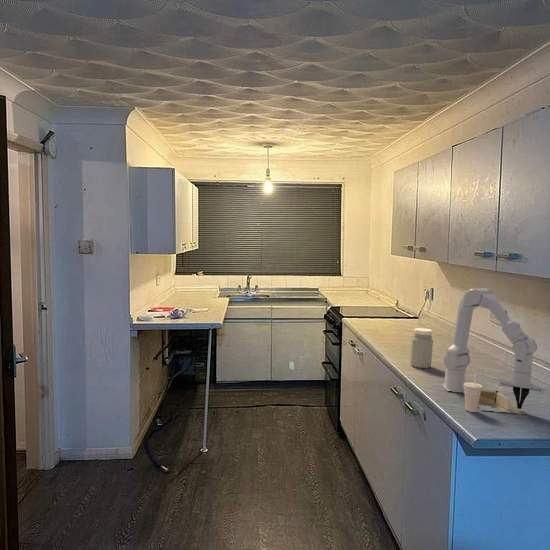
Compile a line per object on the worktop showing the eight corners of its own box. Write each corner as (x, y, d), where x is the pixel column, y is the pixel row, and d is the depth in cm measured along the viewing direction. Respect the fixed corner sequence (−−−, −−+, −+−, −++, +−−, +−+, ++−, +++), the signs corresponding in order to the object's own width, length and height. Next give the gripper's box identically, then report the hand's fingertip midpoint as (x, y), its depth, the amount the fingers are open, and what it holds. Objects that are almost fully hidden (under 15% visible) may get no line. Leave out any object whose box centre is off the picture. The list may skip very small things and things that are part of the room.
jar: (432, 370, 233) (434, 332, 231) (410, 367, 235) (413, 330, 233) (429, 364, 243) (432, 328, 241) (409, 362, 244) (411, 326, 243)
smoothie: (480, 415, 176) (483, 376, 174) (461, 412, 178) (464, 374, 177) (480, 409, 181) (483, 372, 180) (461, 406, 184) (464, 369, 183)
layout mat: (468, 396, 196) (468, 395, 196) (512, 400, 194) (512, 399, 194) (480, 411, 180) (480, 410, 180) (528, 415, 178) (528, 414, 178)
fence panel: (495, 402, 188) (496, 392, 188) (498, 402, 188) (499, 392, 188) (507, 410, 180) (508, 399, 180) (509, 410, 180) (510, 399, 180)
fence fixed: (470, 401, 190) (472, 388, 190) (496, 403, 189) (497, 390, 189) (471, 402, 189) (472, 389, 189) (497, 404, 188) (498, 391, 188)
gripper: (544, 372, 180) (541, 408, 182) (501, 365, 187) (498, 400, 188) (545, 376, 174) (542, 414, 175) (500, 370, 180) (497, 406, 182)
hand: (519, 407), depth 181 cm, fingers closed
